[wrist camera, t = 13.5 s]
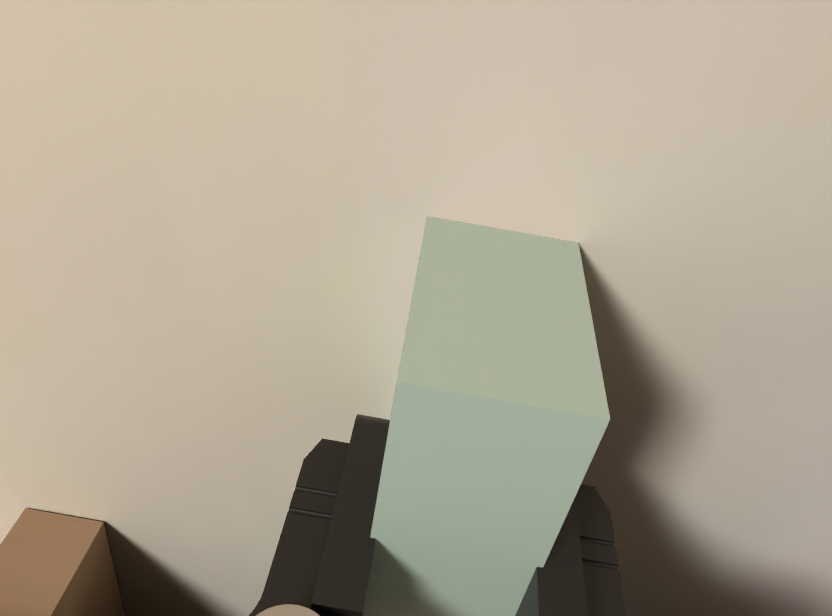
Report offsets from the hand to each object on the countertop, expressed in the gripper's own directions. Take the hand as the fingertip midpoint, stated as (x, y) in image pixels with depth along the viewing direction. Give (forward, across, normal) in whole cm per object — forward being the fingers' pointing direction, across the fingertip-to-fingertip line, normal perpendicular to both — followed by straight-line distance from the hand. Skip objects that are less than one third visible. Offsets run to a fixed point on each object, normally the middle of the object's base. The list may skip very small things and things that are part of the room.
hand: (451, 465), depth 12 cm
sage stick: (+1, 0, +7) cm, 7 cm away
